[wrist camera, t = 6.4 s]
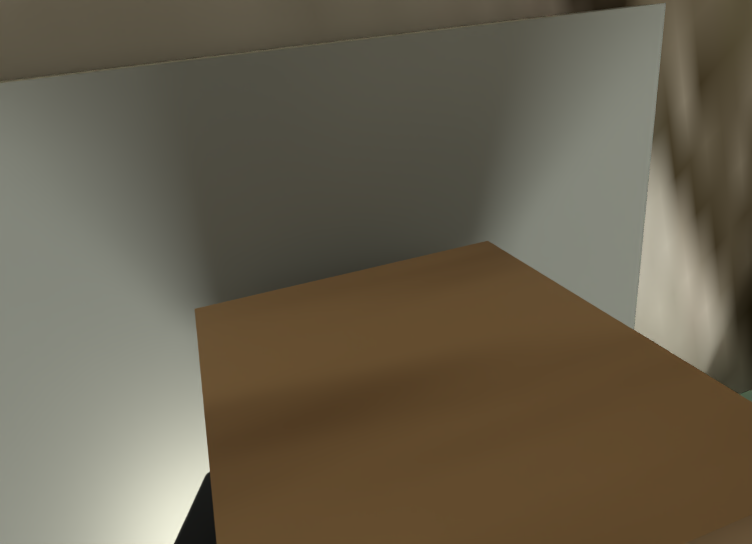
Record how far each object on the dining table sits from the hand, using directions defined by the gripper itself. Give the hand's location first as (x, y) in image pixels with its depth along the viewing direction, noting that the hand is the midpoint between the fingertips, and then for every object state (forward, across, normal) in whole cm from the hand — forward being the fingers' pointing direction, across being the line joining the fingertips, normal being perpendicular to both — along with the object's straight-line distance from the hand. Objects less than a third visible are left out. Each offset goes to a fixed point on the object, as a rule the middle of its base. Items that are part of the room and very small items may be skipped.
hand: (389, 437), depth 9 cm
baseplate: (+3, 0, 0) cm, 3 cm away
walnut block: (+1, 0, 0) cm, 1 cm away
